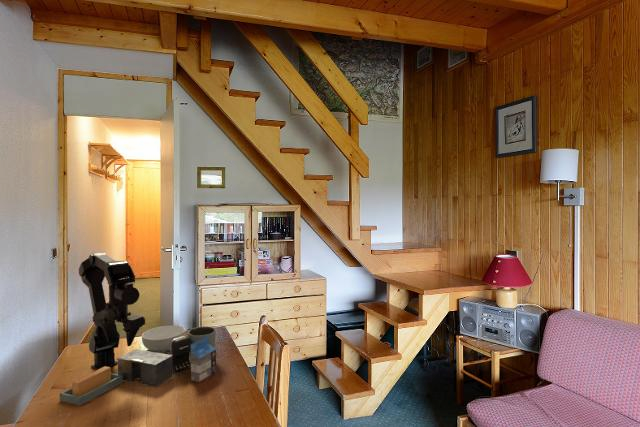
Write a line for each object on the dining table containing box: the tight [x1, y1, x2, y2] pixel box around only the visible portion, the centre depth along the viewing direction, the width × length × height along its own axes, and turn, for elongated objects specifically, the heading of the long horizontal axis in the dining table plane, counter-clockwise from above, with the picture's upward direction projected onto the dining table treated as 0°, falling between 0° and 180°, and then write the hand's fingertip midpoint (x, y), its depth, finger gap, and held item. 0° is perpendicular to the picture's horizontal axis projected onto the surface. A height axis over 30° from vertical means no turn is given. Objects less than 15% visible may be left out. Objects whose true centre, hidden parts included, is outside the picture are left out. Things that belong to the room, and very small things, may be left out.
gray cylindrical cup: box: [187, 325, 217, 365], centre depth 153 cm, size 10×10×12 cm
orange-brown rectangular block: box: [71, 366, 112, 397], centre depth 131 cm, size 2×12×5 cm, turn 160°
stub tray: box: [59, 372, 124, 407], centre depth 131 cm, size 8×16×2 cm, turn 160°
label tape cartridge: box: [190, 337, 217, 383], centre depth 141 cm, size 9×4×12 cm, turn 155°
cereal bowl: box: [141, 325, 187, 353], centre depth 167 cm, size 17×17×7 cm
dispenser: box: [116, 348, 174, 388], centre depth 140 cm, size 16×8×8 cm, turn 70°
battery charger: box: [169, 335, 191, 373], centre depth 147 cm, size 7×4×11 cm, turn 139°
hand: (119, 343), depth 140 cm, fingers open, 9 cm apart
